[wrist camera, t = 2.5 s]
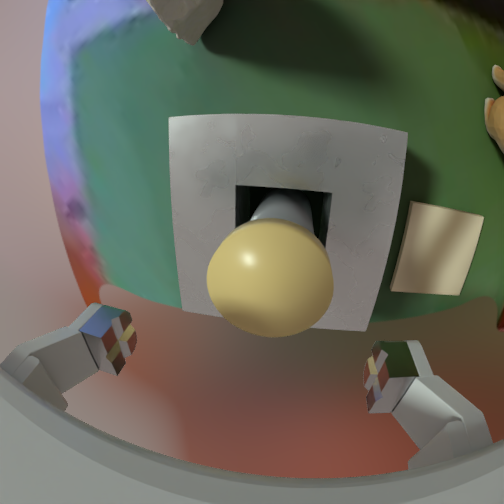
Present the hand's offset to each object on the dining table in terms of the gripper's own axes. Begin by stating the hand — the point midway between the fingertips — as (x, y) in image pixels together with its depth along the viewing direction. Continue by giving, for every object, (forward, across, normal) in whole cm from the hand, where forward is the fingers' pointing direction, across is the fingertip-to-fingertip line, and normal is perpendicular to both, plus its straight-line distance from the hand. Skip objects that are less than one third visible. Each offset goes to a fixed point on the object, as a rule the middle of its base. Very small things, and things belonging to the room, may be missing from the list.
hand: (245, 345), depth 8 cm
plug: (+14, -1, 0) cm, 14 cm away
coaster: (+14, -15, +2) cm, 20 cm away
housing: (+14, -1, 0) cm, 14 cm away
